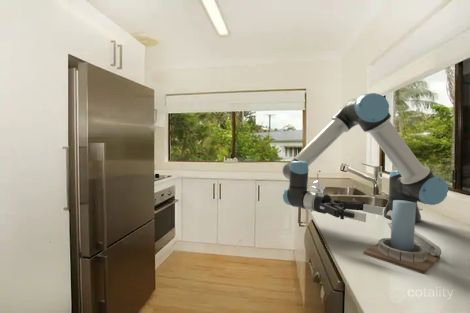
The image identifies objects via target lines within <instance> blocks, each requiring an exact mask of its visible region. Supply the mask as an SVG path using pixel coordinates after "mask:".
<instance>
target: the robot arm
mask: <svg viewBox="0 0 470 313" xmlns="http://www.w3.org/2000/svg"><path fill="white" fill-rule="evenodd" d="M389 108H390V104H389V101H388V100H387V98H386V97H385V96H383V95H382V94H380V93H375V92H370V93H364V94H362V95H359V96H358V97H355V98H352V99H350V100H348V101H347V102H346V103H345V104H343V106H342V107H340V109H339V110H338V111H337V112H336V113H334V115H333V116H332V117H331V121H330V122H329V123H328V124H327V125H326V126H325V127H324V128H323V129H321V131H320V132H319V133H318V134H317V135H316V136H314V138H313V139H312V140H311V141H310V142H309V143H308V144H307V145H306V146H305V147H304V148H302V150H300V151H299V153H298V154H296V156H295V157H294V158H292V160H291V161H289V162H288V163H286V164H284V166H282V174H283V175H284V177H285V178H286V179H288V180H289V183H288V184H289V186H288V187H287V188H285V189H284V191H283V193H282V199H283V202H284V203H285V204H286V205H289V206H291V207H293V208H298V209H299V208H300V209H303V210H308V211H310V212H311V213H312V212H316V213H319V214H324V215H325V214H328V215H331V216H333V217H335V218H337V219H338V218H340V220H344V219H345V218H347V219H351V220H354V221H358V222H362V223H366V222H367V213H368V214H374V215H376V216H377V215H378V216H383V217H385V218H387V219H390V220H392V219H391V216H390V215H387V212H388V211H390V210H391V211H392V210H393V200H404V201H410V202H414V203H416V214H415V223H420V222H422V215H421V212H420V209H419V205H418V203H421V204H424V205H429V206H435V205H439V204H441V203H442V202H444V200H446V198H447V196H448V193H449V185H448V183H447V181H446V180H445V179H443V178H442V177H440V176H436V175H435V174H434V172H433V171H432V170H431V169H430V167H429V166H423V165H422V164H421V162H420V161H419V159H418V158H417V157H416V155H415V154H414V153H413V151H412V149H411V148H410V147H409V146H408V144H407V143H406V141H405V140H404V139H403V137H402V136H401V135H400V133H399V132H398V131H397V129H396V128H395V127H394V125H393V123H392V122H391V117H392V115H391V114H390V110H389ZM357 125H359V127H360V128H361V129H362V131H363V132H364V133H369V134H370V135H371V136H372V138H373V139H374V141H375V142H376V143H377V145H378V146H379V147H380V149H381V150H382V152H383V153H384V154H385V155H386V157H387V158H388V159H389V161H390V162H391V164H392V165H393V166H394V168H395V170H392V171H390V173H389V178H388V179H389V182H388V183H389V184H388V201H387V202H386V205H385V207H382V206H377V205H371V204H366V201H362V202H361V201H351V200H342V199H333V200H332V197H331V196H330V195H329V194H327V193H323V194H322V193H317V192H311V190H308V185H309V184H308V183H309V182H308V181H309V171H310V169H309V167H310V166H311V165H312V164H314V162H315V161H316V160H318V158H319V157H320V156H321V155H323V153H324V152H326V150H328V148H329V147H330V146H331V145H333V143H334V142H335V141H337V139H338V138H339V137H341V136H342V135H343V134H344V133H348V132H349V131H350V130H351V129H352V128H354V127H355V126H357Z"/></svg>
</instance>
